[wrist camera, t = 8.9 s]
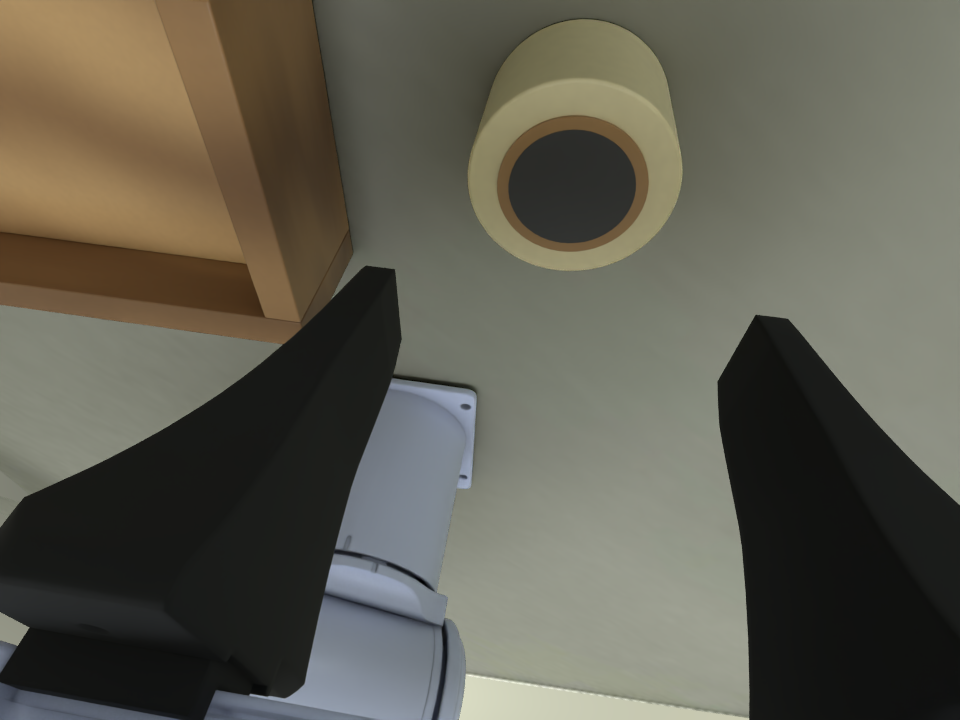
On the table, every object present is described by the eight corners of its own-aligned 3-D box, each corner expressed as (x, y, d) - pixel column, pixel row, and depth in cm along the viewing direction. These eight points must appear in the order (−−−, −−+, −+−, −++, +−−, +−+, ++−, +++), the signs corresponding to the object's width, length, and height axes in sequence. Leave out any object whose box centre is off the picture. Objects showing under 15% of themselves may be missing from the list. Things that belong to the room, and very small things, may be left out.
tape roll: (642, 206, 19) (648, 285, 16) (483, 187, 19) (464, 262, 16) (696, 28, 15) (717, 94, 12) (493, 8, 15) (468, 68, 12)
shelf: (353, 253, 22) (307, 348, 19) (-73, 199, 23) (-189, 278, 20) (302, -62, 14) (208, 0, 11) (-331, -119, 16) (-594, -79, 12)
